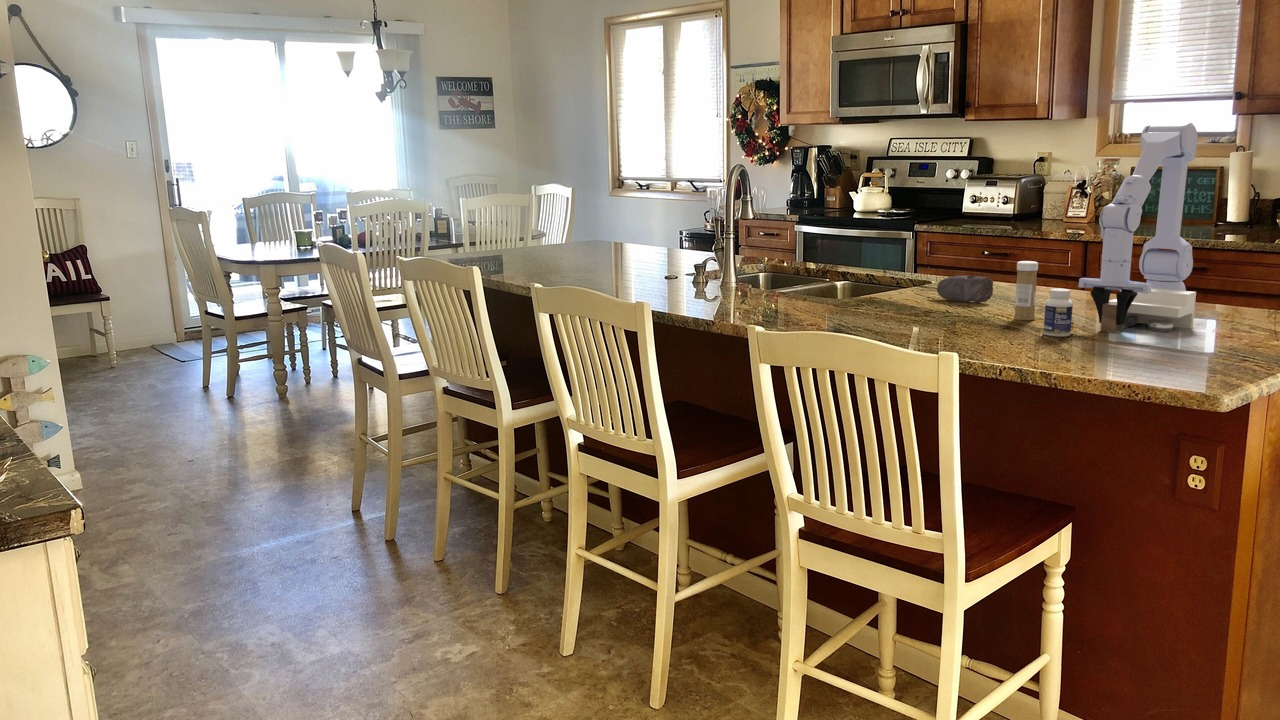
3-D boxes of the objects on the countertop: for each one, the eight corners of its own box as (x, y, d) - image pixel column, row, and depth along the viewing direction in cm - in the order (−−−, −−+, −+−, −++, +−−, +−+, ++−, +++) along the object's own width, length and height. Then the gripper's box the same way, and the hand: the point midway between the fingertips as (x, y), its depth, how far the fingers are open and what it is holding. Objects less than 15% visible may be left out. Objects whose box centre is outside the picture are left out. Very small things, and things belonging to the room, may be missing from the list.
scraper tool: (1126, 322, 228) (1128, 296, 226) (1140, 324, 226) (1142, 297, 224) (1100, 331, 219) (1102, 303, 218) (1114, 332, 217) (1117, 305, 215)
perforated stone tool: (931, 300, 265) (932, 273, 264) (942, 297, 268) (943, 271, 267) (983, 306, 254) (984, 278, 252) (994, 303, 257) (995, 276, 256)
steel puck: (1152, 327, 223) (1153, 318, 222) (1176, 330, 219) (1177, 321, 219) (1143, 330, 220) (1144, 321, 219) (1167, 333, 216) (1168, 324, 215)
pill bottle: (1054, 337, 213) (1057, 292, 211) (1037, 333, 218) (1040, 288, 216) (1076, 336, 214) (1079, 290, 212) (1059, 331, 219) (1062, 287, 217)
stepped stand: (1122, 320, 231) (1125, 285, 229) (1192, 328, 220) (1196, 291, 218) (1105, 325, 225) (1108, 290, 223) (1176, 334, 214) (1180, 296, 212)
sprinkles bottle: (1038, 319, 234) (1042, 261, 231) (1026, 321, 231) (1030, 263, 229) (1021, 316, 238) (1025, 259, 235) (1009, 319, 235) (1012, 261, 232)
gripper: (1074, 259, 218) (1069, 321, 221) (1143, 264, 208) (1138, 329, 211) (1088, 256, 223) (1084, 317, 226) (1157, 261, 212) (1151, 325, 215)
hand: (1111, 323), depth 218 cm, fingers closed on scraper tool, 3 cm apart
